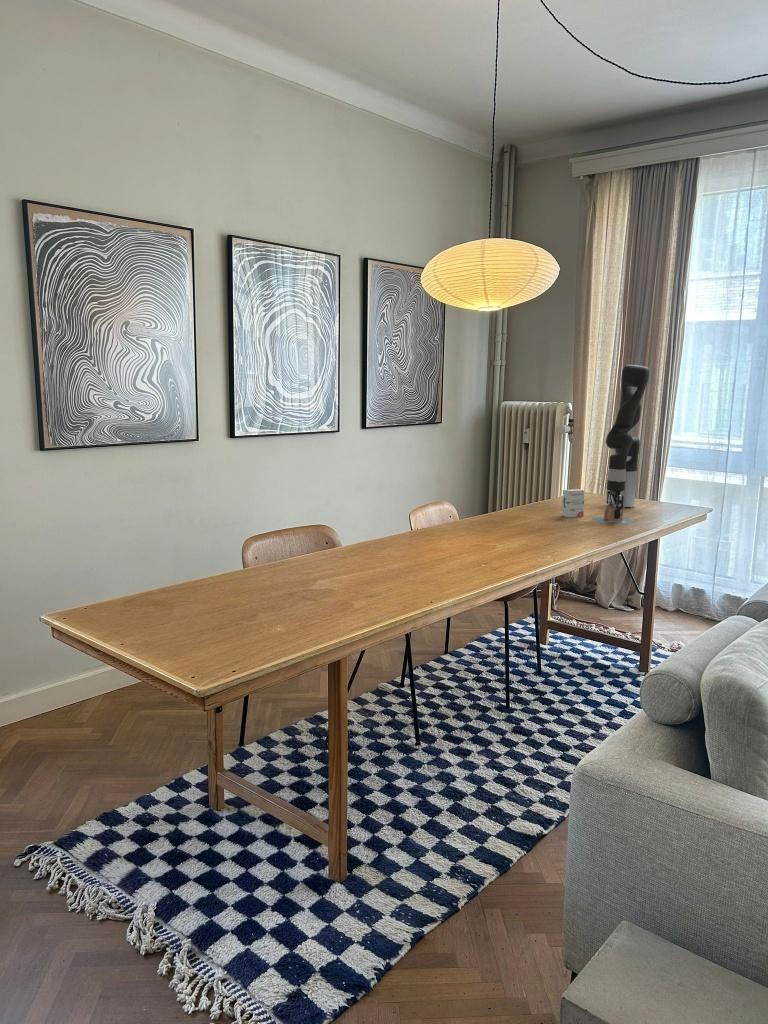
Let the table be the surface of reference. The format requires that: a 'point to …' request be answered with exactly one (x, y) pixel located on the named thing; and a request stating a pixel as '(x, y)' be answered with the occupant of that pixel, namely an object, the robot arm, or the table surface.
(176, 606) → the table surface
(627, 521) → the letter card
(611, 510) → the painted cube
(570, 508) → the ink box
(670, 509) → the table surface
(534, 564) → the table surface
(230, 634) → the table surface
